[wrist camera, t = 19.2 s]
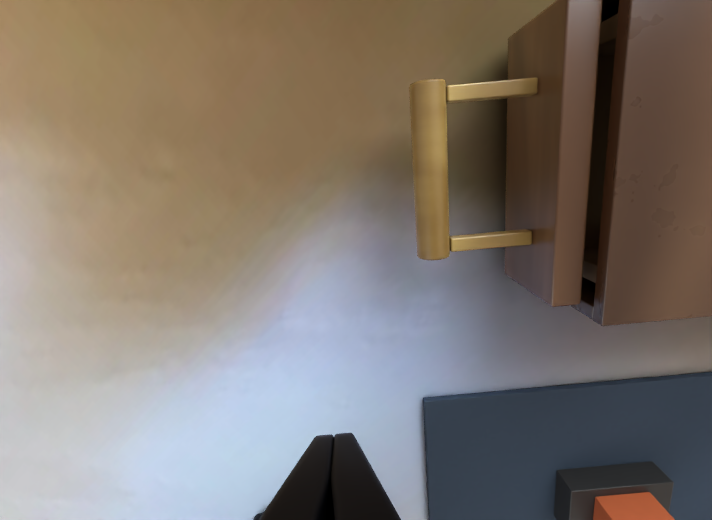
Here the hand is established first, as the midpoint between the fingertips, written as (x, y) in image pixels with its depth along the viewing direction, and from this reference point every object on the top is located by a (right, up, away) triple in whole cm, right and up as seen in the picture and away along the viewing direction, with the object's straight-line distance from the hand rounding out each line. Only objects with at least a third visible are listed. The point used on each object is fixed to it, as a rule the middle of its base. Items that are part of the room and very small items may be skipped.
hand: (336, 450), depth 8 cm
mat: (+16, -10, +15) cm, 24 cm away
